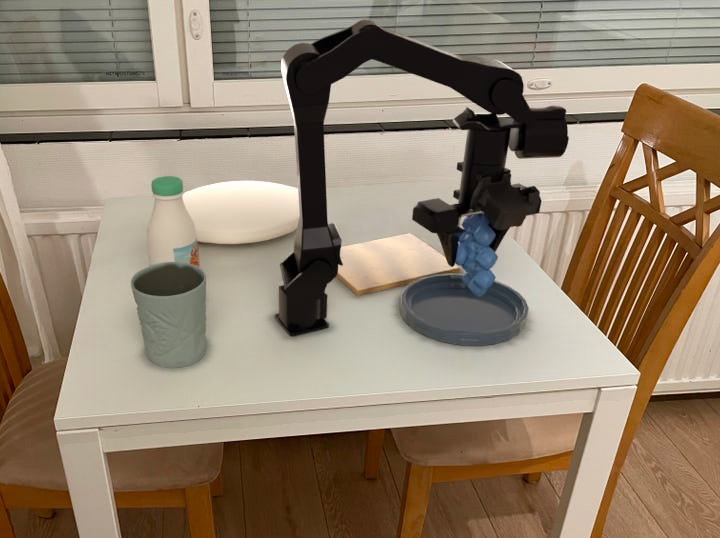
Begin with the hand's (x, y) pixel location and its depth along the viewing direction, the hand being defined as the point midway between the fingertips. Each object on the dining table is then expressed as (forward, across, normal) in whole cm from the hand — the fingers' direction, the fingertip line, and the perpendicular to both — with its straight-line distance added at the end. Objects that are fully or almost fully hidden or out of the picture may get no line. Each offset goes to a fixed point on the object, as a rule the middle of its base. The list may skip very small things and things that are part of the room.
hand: (469, 261), depth 113 cm
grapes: (+5, 0, 0) cm, 5 cm away
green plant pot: (+9, -44, +8) cm, 46 cm away
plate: (+9, -19, +47) cm, 52 cm away
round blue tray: (+9, 0, 0) cm, 9 cm away
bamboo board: (+9, -2, +20) cm, 22 cm away
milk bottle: (+9, -39, +23) cm, 46 cm away
